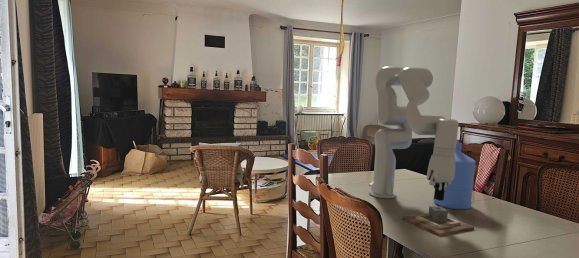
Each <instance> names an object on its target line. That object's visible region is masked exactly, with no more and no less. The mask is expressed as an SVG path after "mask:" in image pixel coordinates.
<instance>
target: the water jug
mask: <svg viewBox="0 0 579 258" xmlns="http://www.w3.org/2000/svg"><path fill="white" fill-rule="evenodd" d="M462 145H463V143H462V142H459V141H457V142H456V150H455V176H454V180H453V181H452V183H451V184H449V185H447V187H446V190H445V192H444V200H441V201H439V200H437V199H434V198H433V202H434V203H435V204H436V205H438V206H439V207H443V208H445V209H451V210H452V209H453V210H459V211H460V210H461V211H462V210H468V209H470V208H471V207H472V205H473V204H472V203H473V201H472V196H473V189H474V180H475V179H474V178H475V171H476V160H475V159H474V158H472V157H471V156H468V155H467V154H465V153H463V152H462V148H463V147H462Z"/></svg>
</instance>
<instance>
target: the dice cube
mask: <svg viewBox="0 0 579 258" xmlns="http://www.w3.org/2000/svg"><path fill="white" fill-rule="evenodd" d="M428 213H429V215H428V219H429V220H430V221H432V222H434V223H436V224H445V223H447V216H448V213H449V210H447V208H445V207H442V206H434V205H432V206H428ZM448 217H449V216H448Z"/></svg>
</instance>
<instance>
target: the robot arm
mask: <svg viewBox="0 0 579 258" xmlns="http://www.w3.org/2000/svg"><path fill="white" fill-rule="evenodd" d="M433 81H434V77H433V73H432V72H431V71H430V69H427V68H424V67H414V66H413V67H411V66H410V67H409V66H408V67H406V66H405V67H403V66H392V65H391V66H384V67H381V68H380V69H379V70H378V71H377V73H376V76H375V87H376V92H377V120H378V123H379V124H380V125H382V126H387V127H388V126H391V127H394V126H395V127H397V128H391V127H390V128H387V127H386V128H381V129H378V130H377V131H376V132H375V134H374V148H375V150H374V151H375V152H374V169H373V178H372V179H373V181H372V182H371V183H369V184H368V186H369V187H371V189H370V190H369V191H368V193H369V195H370V196H372V197H374V198H375V197H376V198H380V199H394V198H396V197H397V193H396V192H395V191H394V186H395V176H396V175H395V174H396V163H397V159H396V156H395V153H394V151H393V150H403V149H404V150H405V149H408V148H409V147H411V145H412V141H413V133H414V134H416V135H418V136H434V141H433V143H434V144H433V153H432V154H431V155H430V158H429V163H428V167H427V172H426V180H427V181H429V183H428V184H429V185H430V186H433V189H434V193H433V200H434V199H437V200H439V201H441V200H444V192H445V190H446V187H447V185H449V184H451V183H452V181H453V180H454V176H455V150H456V142H458V131H459V125H460V124H459V121H458V120H456V119H453V118H447V117H444V116H441V115H440V116H439V115H423V114H421V112H420V110H419V106H421V105H423V104H424V103H426V102H427V101H428V100H429V98H430V91H429V90H428V88H429V87H430V86H432V83H433ZM392 86H397V87H399V86H400V87H402V89H403V91H404V94H405V96H406V98H407V100H408V103H407V105H398V96H397V93H396V91H395V89H394V88H393V87H392Z"/></svg>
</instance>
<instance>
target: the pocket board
mask: <svg viewBox="0 0 579 258" xmlns="http://www.w3.org/2000/svg"><path fill="white" fill-rule="evenodd" d="M428 215H429V212H425V213H424V212H423V213H416V214H411V215H404V216H402V220H404V221H406V222H408V223H411V224H412V225H414V224H415V225H414V226H417V227H419V228H421V227H422V228H421V229H423V228H424V230H425V229H426V230H425V231H427V230H428V232H429V231H430V233H432V234H433V235H436V236H438V237H442V236H443V237H444V236H447V235H453V234H458V233H463V232H468V231H473V230H475V226H473V225H471V224H469V223H465V222H463V221H461V220H457V219H455V218H453V217H451V216H447V223H445V224H436V223H434V222H432V221H430V220H429V219H428Z"/></svg>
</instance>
